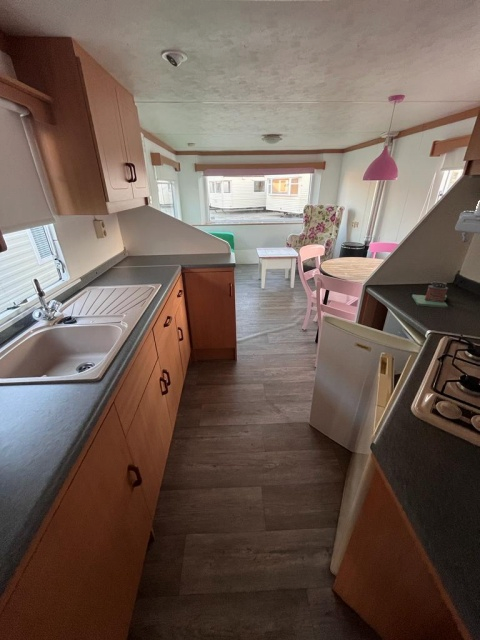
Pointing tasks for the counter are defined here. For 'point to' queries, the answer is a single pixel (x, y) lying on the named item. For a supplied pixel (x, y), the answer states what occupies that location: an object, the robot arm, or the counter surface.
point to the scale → (420, 301)
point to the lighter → (436, 292)
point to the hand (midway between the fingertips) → (476, 243)
